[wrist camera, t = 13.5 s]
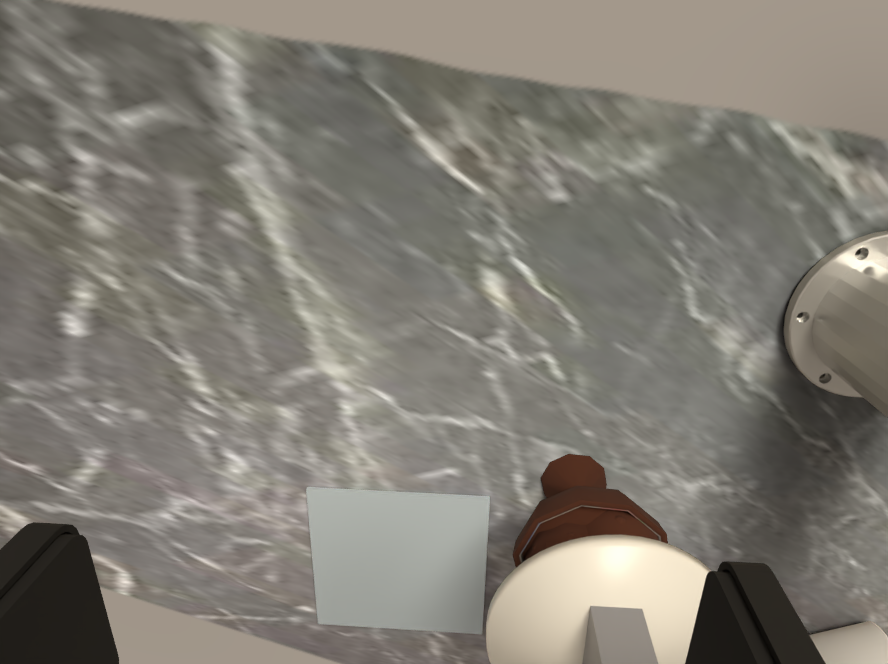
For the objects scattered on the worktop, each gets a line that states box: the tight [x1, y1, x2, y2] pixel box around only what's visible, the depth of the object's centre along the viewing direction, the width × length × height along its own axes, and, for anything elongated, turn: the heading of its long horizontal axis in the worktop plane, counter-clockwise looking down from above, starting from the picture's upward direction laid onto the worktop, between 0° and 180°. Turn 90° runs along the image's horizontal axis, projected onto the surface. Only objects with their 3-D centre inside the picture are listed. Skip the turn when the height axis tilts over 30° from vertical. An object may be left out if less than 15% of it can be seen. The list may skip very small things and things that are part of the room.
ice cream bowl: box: [513, 454, 668, 567], centre depth 45 cm, size 11×11×15 cm
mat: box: [306, 487, 490, 634], centre depth 56 cm, size 16×16×1 cm
